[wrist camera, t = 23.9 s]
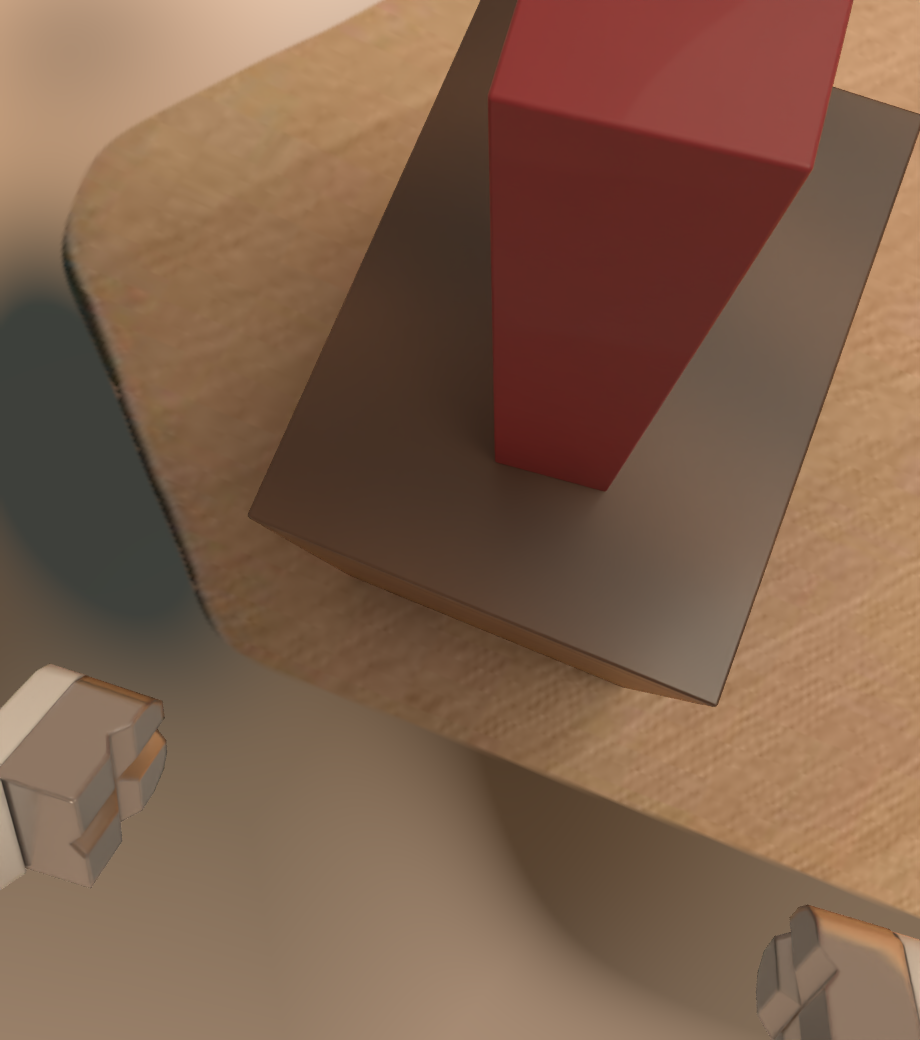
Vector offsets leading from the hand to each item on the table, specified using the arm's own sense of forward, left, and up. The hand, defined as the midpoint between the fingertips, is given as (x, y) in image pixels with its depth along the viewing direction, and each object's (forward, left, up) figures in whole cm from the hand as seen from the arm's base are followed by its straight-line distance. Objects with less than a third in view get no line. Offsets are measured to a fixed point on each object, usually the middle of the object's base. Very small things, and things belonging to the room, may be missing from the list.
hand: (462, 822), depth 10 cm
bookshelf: (+11, +1, -23) cm, 25 cm away
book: (+11, +1, -9) cm, 14 cm away
